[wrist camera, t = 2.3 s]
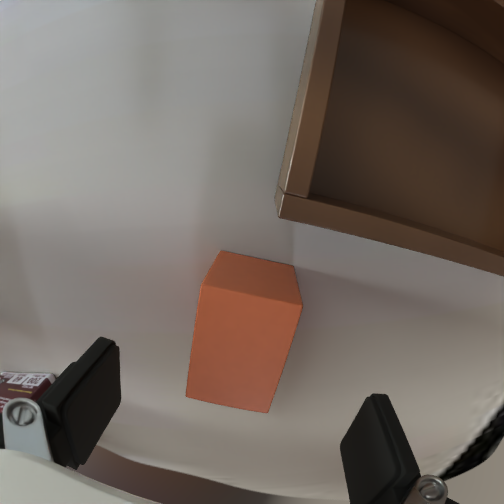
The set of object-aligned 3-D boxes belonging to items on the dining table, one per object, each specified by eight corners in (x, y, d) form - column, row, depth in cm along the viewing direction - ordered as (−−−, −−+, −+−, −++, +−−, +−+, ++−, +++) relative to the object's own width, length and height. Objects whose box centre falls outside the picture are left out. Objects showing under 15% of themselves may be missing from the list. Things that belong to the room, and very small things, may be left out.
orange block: (220, 249, 16) (200, 283, 12) (293, 265, 16) (303, 305, 12) (203, 343, 18) (185, 397, 13) (268, 357, 18) (268, 413, 13)
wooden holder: (319, -20, 12) (337, -81, 6) (538, 91, 12) (592, 84, 6) (274, 199, 16) (277, 217, 10) (512, 266, 16) (567, 297, 10)
